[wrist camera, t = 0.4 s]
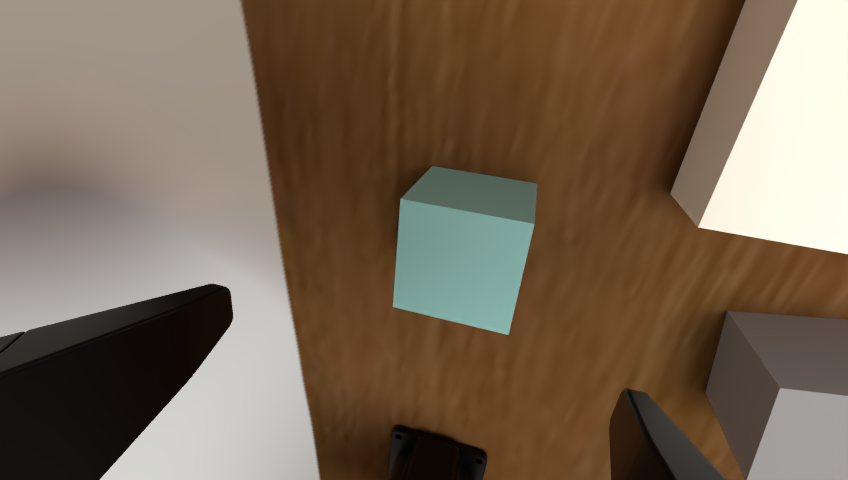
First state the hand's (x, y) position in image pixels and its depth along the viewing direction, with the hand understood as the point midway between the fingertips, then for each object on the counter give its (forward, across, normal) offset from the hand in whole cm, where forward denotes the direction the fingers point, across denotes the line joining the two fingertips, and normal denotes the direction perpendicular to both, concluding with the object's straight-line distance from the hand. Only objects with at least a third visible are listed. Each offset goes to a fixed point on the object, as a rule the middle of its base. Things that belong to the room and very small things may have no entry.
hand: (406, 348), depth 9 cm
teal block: (+12, 0, +2) cm, 12 cm away
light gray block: (+12, -15, +6) cm, 20 cm away
